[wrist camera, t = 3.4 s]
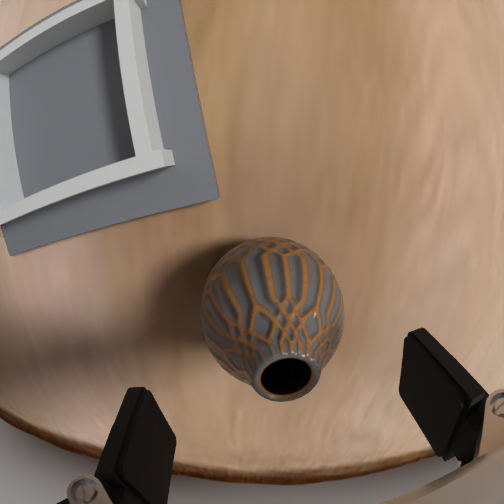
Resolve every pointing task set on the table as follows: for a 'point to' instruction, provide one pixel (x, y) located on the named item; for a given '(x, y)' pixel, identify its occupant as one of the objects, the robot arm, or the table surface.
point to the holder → (99, 121)
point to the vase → (272, 316)
